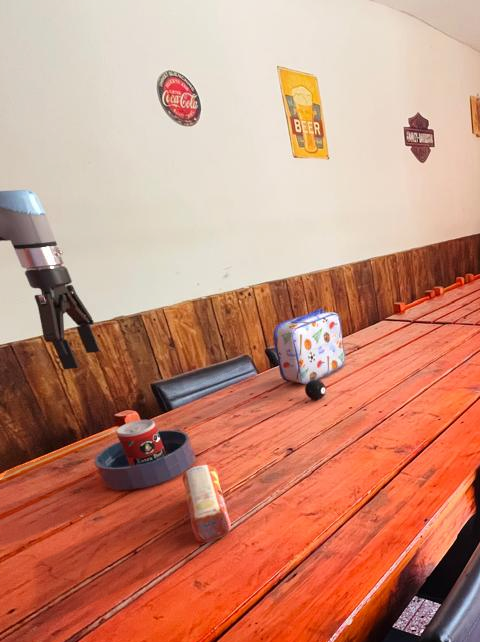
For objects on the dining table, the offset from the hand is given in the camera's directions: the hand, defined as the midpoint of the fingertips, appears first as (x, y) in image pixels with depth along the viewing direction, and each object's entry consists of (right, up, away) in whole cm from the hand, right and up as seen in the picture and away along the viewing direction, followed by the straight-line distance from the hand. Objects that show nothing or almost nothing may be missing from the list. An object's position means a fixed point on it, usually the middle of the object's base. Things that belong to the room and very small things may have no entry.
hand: (83, 359), depth 122 cm
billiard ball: (+44, -7, +37) cm, 58 cm away
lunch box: (+38, +3, +57) cm, 69 cm away
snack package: (+40, -34, -18) cm, 56 cm away
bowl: (+16, -26, 0) cm, 31 cm away
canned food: (+16, -26, 0) cm, 31 cm away
